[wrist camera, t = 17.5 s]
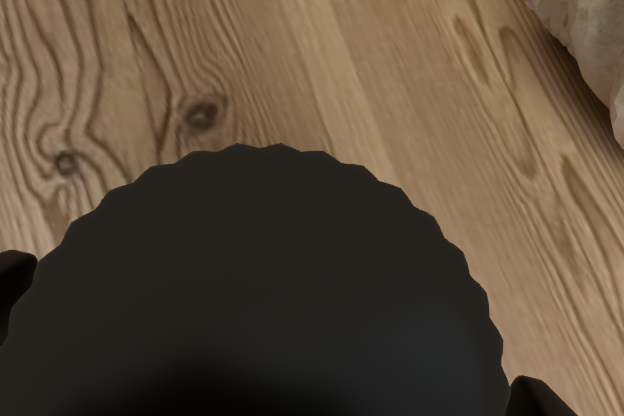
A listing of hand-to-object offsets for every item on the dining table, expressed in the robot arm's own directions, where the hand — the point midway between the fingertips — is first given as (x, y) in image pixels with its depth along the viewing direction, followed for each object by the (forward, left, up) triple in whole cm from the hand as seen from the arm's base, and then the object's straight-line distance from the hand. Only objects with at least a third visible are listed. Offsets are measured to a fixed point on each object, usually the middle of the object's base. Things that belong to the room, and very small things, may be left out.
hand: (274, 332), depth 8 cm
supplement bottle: (0, 0, -8) cm, 8 cm away
